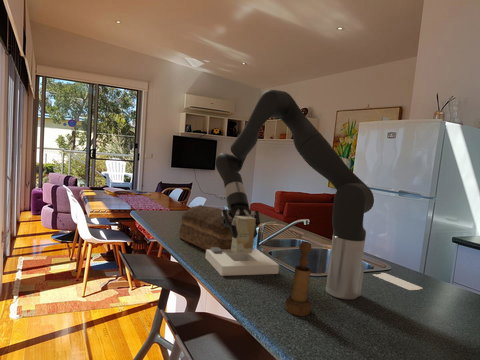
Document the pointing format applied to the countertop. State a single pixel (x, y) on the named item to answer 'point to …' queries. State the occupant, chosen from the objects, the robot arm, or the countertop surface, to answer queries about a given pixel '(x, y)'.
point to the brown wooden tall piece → (300, 285)
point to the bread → (205, 228)
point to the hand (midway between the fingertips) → (245, 237)
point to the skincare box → (243, 234)
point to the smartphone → (397, 281)
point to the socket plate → (240, 262)
